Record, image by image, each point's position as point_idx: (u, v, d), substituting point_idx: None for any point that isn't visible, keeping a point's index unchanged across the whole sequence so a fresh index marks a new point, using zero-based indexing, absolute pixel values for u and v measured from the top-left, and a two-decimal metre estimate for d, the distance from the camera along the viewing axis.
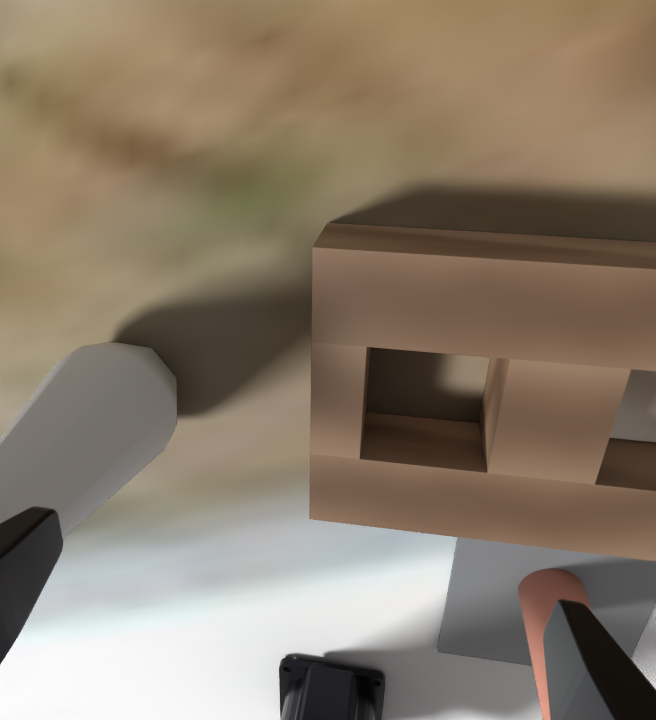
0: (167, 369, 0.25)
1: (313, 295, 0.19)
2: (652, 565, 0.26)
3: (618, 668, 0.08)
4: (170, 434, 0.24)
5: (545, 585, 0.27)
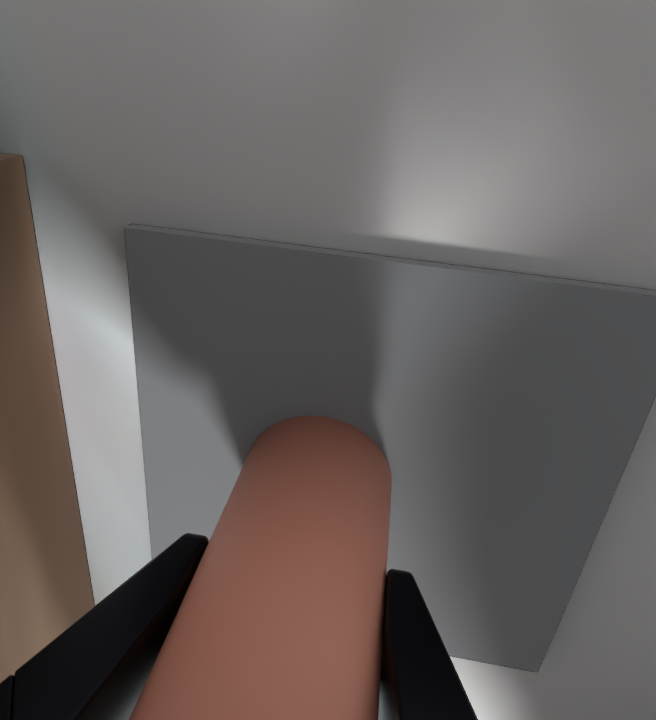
0: None
1: None
2: (198, 280, 0.10)
3: (416, 631, 0.08)
4: None
5: None
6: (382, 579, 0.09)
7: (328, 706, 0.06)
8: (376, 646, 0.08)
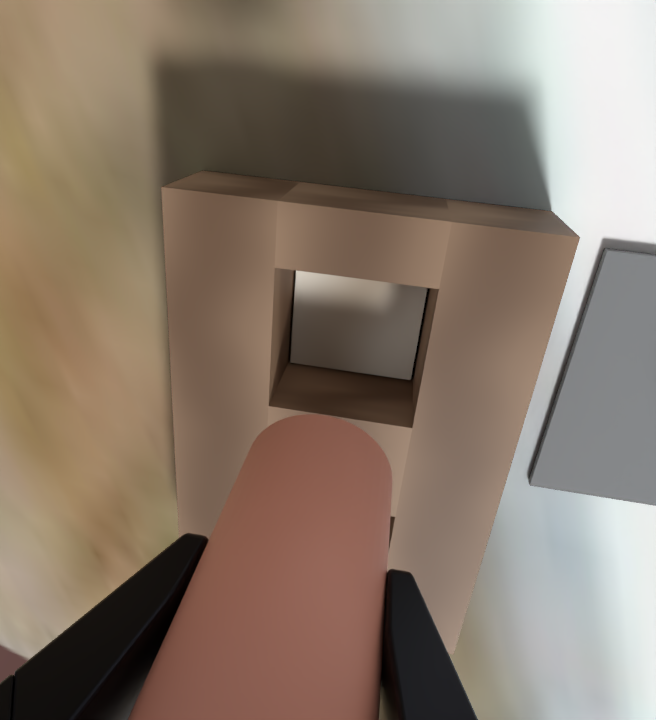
0: None
1: None
2: (641, 280, 0.18)
3: (416, 631, 0.08)
4: None
5: None
6: (383, 578, 0.09)
7: (328, 705, 0.06)
8: (378, 646, 0.08)
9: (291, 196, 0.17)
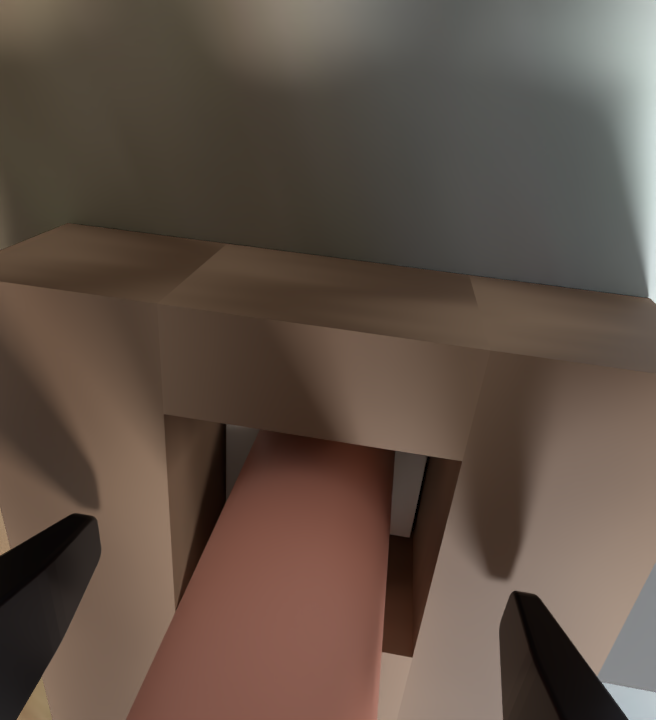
0: None
1: None
2: None
3: (563, 658, 0.08)
4: None
5: None
6: (386, 526, 0.10)
7: (339, 617, 0.07)
8: (381, 579, 0.09)
9: (191, 287, 0.09)
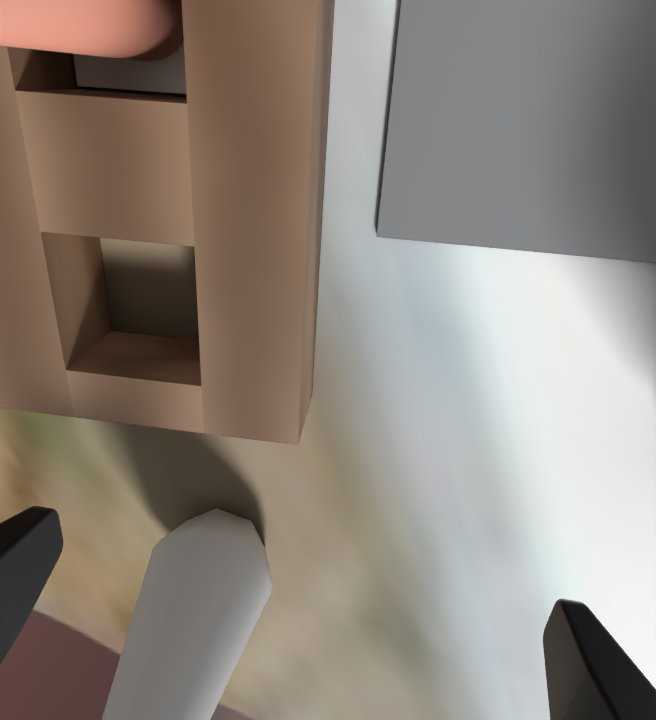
0: (203, 514, 0.26)
1: (28, 410, 0.21)
2: None
3: (618, 668, 0.08)
4: (225, 543, 0.24)
5: None
6: None
7: None
8: None
9: None
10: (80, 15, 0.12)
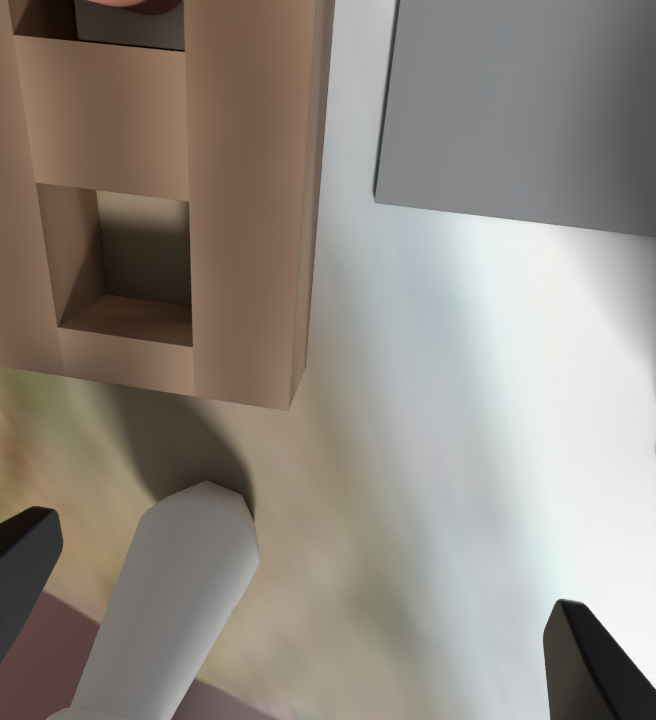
0: (194, 485, 0.26)
1: (19, 367, 0.21)
2: None
3: (618, 668, 0.08)
4: (213, 512, 0.24)
5: None
6: None
7: None
8: None
9: None
10: None
